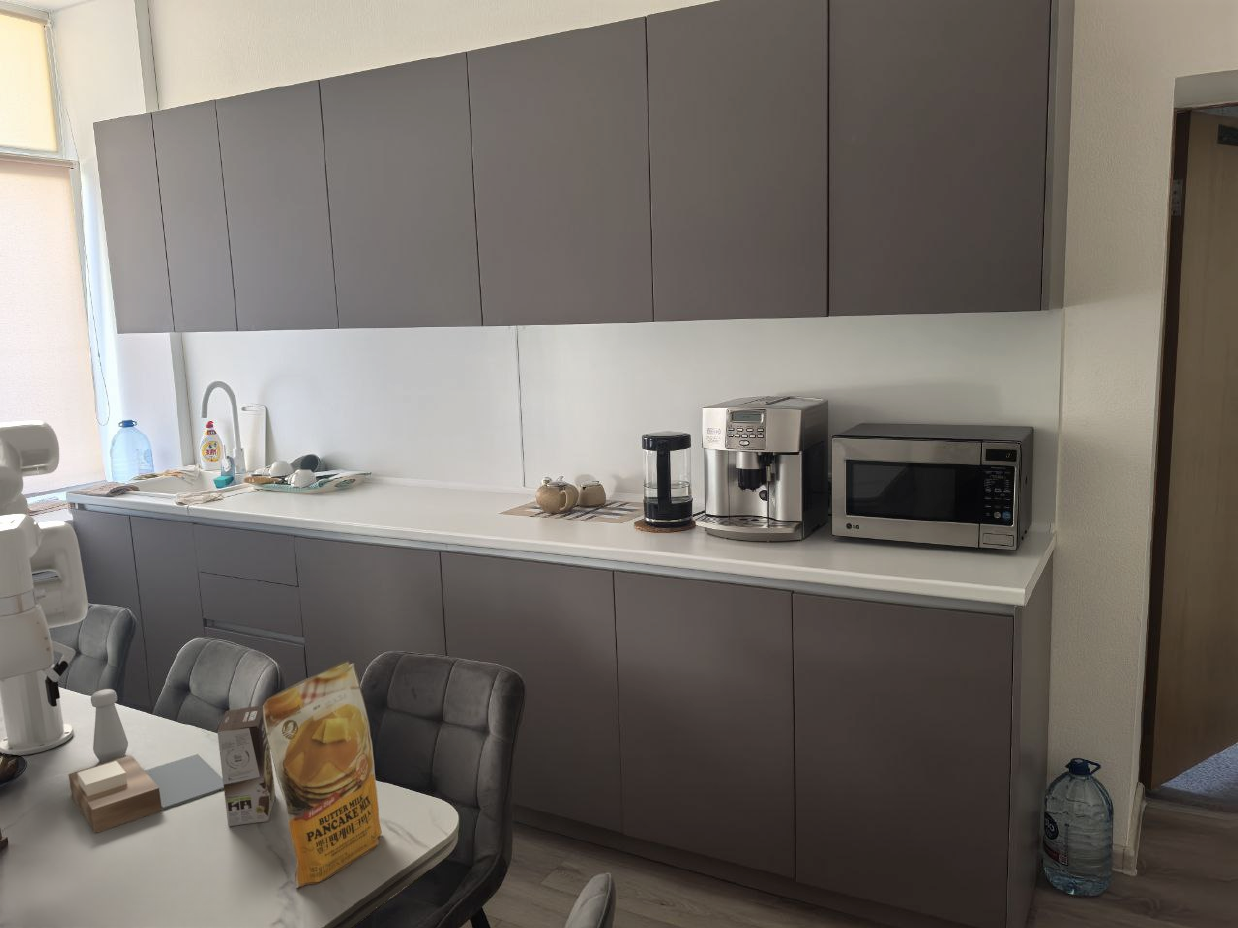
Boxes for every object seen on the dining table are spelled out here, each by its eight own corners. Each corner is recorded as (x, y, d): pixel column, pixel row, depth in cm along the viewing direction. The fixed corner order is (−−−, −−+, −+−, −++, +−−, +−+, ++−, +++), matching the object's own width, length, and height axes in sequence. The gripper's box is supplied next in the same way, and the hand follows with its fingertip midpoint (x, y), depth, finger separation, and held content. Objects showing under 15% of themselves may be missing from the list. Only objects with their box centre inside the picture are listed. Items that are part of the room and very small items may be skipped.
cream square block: (78, 783, 167) (77, 772, 166) (117, 771, 170) (116, 760, 170) (87, 796, 162) (85, 784, 162) (127, 783, 166) (125, 772, 166)
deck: (71, 795, 171) (68, 773, 171) (134, 775, 177) (131, 754, 177) (95, 832, 158) (92, 809, 158) (162, 810, 164) (159, 787, 164)
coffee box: (269, 821, 159) (258, 725, 157) (227, 827, 158) (215, 731, 155) (276, 794, 168) (266, 703, 165) (236, 800, 167) (225, 708, 164)
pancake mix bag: (267, 885, 141) (245, 698, 137) (368, 823, 157) (351, 653, 152) (298, 899, 138) (277, 707, 133) (399, 834, 153) (383, 660, 149)
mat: (135, 775, 178) (135, 773, 178) (198, 755, 184) (197, 753, 184) (163, 809, 165) (163, 807, 165) (229, 787, 171) (229, 785, 171)
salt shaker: (131, 759, 184) (122, 692, 182) (97, 768, 181) (87, 700, 179) (126, 748, 189) (117, 683, 187) (93, 757, 186) (83, 690, 184)
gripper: (65, 586, 163) (79, 689, 166) (-63, 611, 152) (-44, 721, 155) (75, 595, 157) (90, 702, 160) (-56, 622, 147) (-38, 736, 149)
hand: (24, 710), depth 158 cm, fingers open, 7 cm apart
